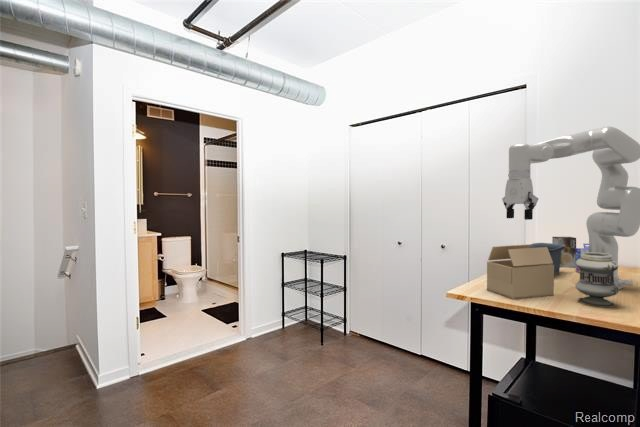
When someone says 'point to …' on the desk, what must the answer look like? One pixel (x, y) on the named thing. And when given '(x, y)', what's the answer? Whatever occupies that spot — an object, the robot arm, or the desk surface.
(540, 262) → the front flap
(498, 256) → the back flap
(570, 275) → the desk surface
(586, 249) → the ink cartridge box
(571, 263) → the coffee box
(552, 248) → the storage bin
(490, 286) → the carton
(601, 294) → the apothecary jar
